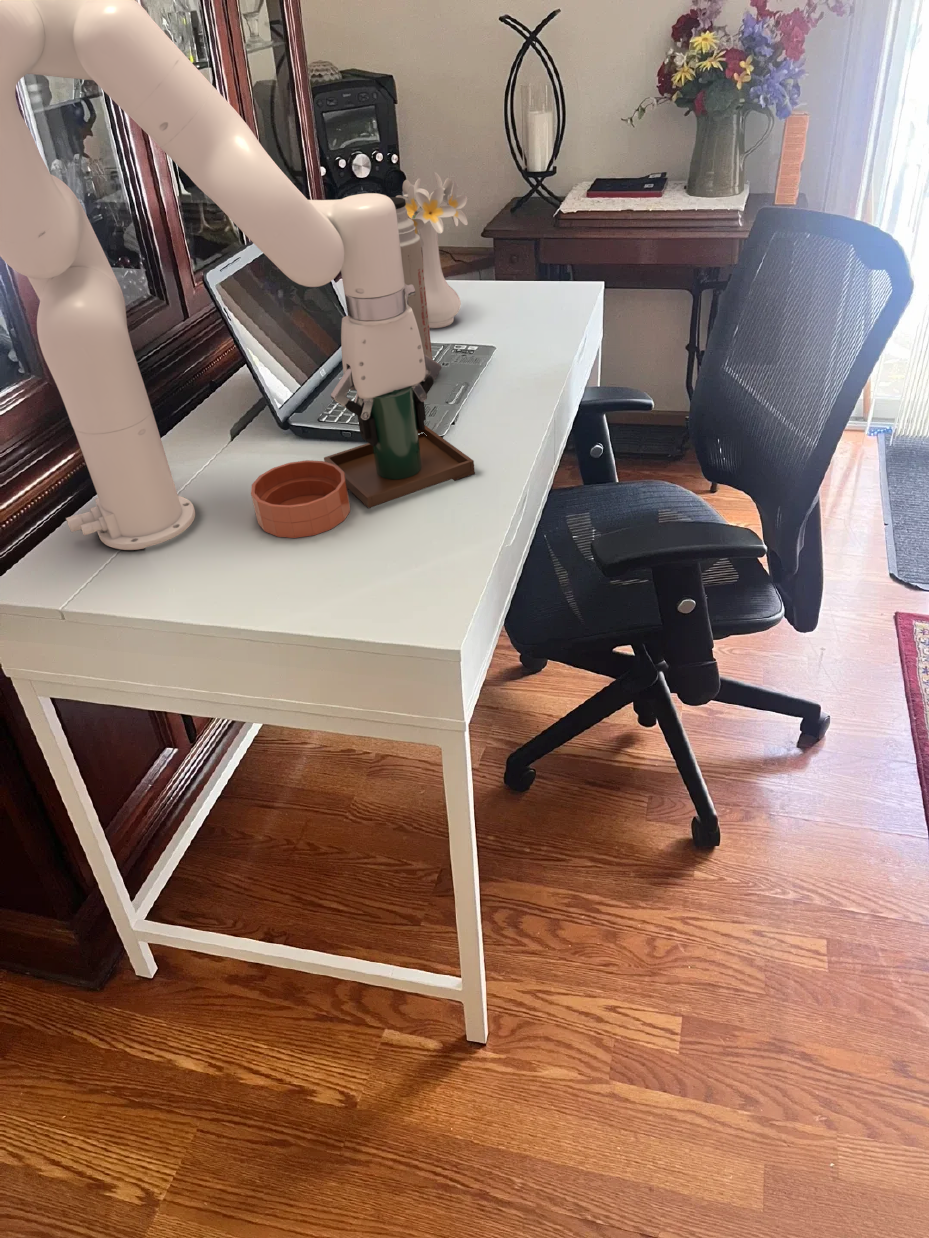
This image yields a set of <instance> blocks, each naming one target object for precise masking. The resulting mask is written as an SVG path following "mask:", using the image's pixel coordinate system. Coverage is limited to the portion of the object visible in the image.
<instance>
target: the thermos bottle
mask: <svg viewBox="0 0 929 1238" xmlns="http://www.w3.org/2000/svg"><path fill="white" fill-rule="evenodd" d="M388 197H389V196H388ZM389 198H390V199H391V200H392V201H393V203H394V205H395V208H396V214H397V223H398V231H399V240H400V249H401V257H402V266H403V274H404V283H405V284H406V285H410V284H412V285H413V286H414V288H415V295H412V296H410V297H409V298H408V306H409V307H411V308H412V311H413V314H414V317H415V320H416V323H417V326H418V330H419V334H420V338H421V342H422V348H423V353H424V354H425V355H426V356H428V357H429V358H431V359H432V360H433V352H432V351H433V350H432V342H431V331H430V328H429V320H428V311H427V301H426V291H425V281H424V271H423V254H422V247H421V242H420V236H419V235H417V234H415V226H414V222H413V221H412V220H411V219H409V218H408V216H407V209H406V208H405V205H406V201H405V199H404V198H405V197H404V198H400V197H396V196H395V197H394V196H390V197H389ZM425 368H426V366H425Z"/></svg>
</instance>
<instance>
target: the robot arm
mask: <svg viewBox="0 0 929 1238" xmlns="http://www.w3.org/2000/svg"><path fill="white" fill-rule="evenodd" d="M26 75H37V76H44V77H45V76H46V77H53V78H64V79H74V80H84V81H85V80H86V81H94V83H96V85H97V86H98V87H99V88H100V89H101V90H102V91H103V92H104V93H105V94H106V95H107V96H108V97H109V98H110V99H111V100H112V101H113V102H114V103H115V104H116V105H117V106H118V107H119V108H120V109H121V110H122V111H123V112H124V113H125V114H126V115H127V116H129V117H130V119H132V120H133V121H134V122H135V123H136V124H137V126H139V128H141V129H142V130H143V131H144V133H146V134H147V136H149V137H150V138H151V139H152V140H153V141H154V142H155V144H156V145H158V147H159V148H160V149H161V150H162V151H163V152H164V153H165V154H166V155H167V156H168V157H169V158H170V159H171V160H172V161H173V162H174V163H175V164H176V166H177V167H179V168H180V169H181V170H182V172H183V173H185V174H186V176H188V177H189V179H190V180H191V181H192V183H194V185H195V186H196V187H197V188H198V189H199V190H200V191H201V192H202V193H204V194H205V195H206V196H207V197H208V198H209V199H210V200H211V201H212V202H213V203H214V204H215V205H217V207H218V208H220V210H221V211H222V212H223V213H224V214H225V215H226V216H227V217H228V218H229V219H230V220H231V221H232V223H233V224H235V225H236V226H237V228H239V230H240V231H241V232H242V233H243V234H244V235H245V236H246V238H248V239H249V240H250V241H251V242H252V243H253V244H254V245H255V246H256V247H257V248H258V249H259V250H260V251H261V252H262V253H263V255H265V256H266V257H267V258H268V260H270V261H271V262H272V263H273V264H274V265H275V266H276V267H277V268H278V269H279V270H280V271H281V272H282V273H283V274H284V275H285V276H286V277H287V278H288V279H290V280H291V281H292V282H294V283H296V284H298V285H300V286H302V287H309V288H317V287H318V288H319V287H323V286H325V285H327V284H329V283H331V282H332V281H333V280H334V279H336V277H337V276H338V275H339V274H340V273H341V274H340V275H341V278H342V280H341V281H342V287H343V292H344V300H345V305H346V312H347V313H346V314H347V315H345V316H342V318H341V328H340V329H341V330H340V343H341V344H340V345H341V346H340V347H341V363H342V371H343V375H342V377H341V378H340V380H338V382H337V384H336V385H335V387H334V389H333V390H332V392H331V393H330V398H331V399H332V400H333V401H334V402H335V403H337V404H338V405H340V406H342V407H343V408H344V409H346V410H348V411H349V412H351V414H353V415H355V416H357V423H358V429H359V435H360V437H361V438H362V440H364V441H366V443H369V444H371V445H372V446H376V445H377V444H378V440H377V433H376V426H375V420H374V418H373V417H372V416H371V415H370V413H371V409H372V405H373V398H375V397H378V396H381V395H384V394H387V393H390V392H392V391H394V390H399V389H404V388H407V387H410V386H413V394H414V403H415V411H416V420H417V428H418V430H420V431H422V430H425V426H426V424H425V421H426V420H427V419H426V418H427V417H426V408H425V402H426V401H427V399H428V394H429V392H430V390H431V389H432V387H433V386H434V383H435V380H436V379H437V377H438V375H439V374H440V372H441V371H442V368H443V367H442V365H441V364H440V363H439V362H437V361H435V360H434V359H433V358H432V359H431V358H429V357H428V356H426V355H425V354H424V353H423V348H422V342H421V338H420V334H419V330H418V326H417V323H416V320H415V317H414V314H413V311H412V308H411V307H409V306H408V298H409V297H410V296H412V295H415V288H414V286H413V285H412V284H410V285H406V284H405V283H404V274H403V266H402V257H401V249H400V240H399V231H398V223H397V214H396V208H395V205H394V203H393V201H392V200H391V199H390V198H389V196H387V195H386V194H381V193H377V192H375V193H374V192H367V193H358V194H353V195H348V196H346V197H343V198H340V199H308V198H307V197H306V196H305V195H304V194H303V193H302V192H301V191H300V190H299V188H297V186H296V185H295V184H294V183H293V182H292V181H291V180H290V178H289V177H288V175H286V174H285V173H284V171H282V169H280V167H279V166H278V165H277V163H276V162H275V161H274V160H273V159H272V157H271V156H270V155H269V154H268V152H267V151H266V150H265V148H264V147H263V146H262V144H261V142H260V141H259V140H258V138H257V137H256V135H255V133H254V132H253V131H252V129H251V128H250V127H249V124H247V122H245V120H244V119H243V117H242V116H241V115H240V114H239V113H238V112H237V110H236V109H235V108H234V107H233V106H232V104H230V103H229V102H228V101H227V99H226V98H225V97H224V96H223V95H222V94H221V92H219V90H218V89H217V88H216V87H215V86H214V85H212V83H211V82H210V81H209V80H208V79H207V78H206V77H205V75H204V74H203V73H202V72H201V71H200V70H199V69H198V68H197V66H195V64H193V62H192V61H191V60H190V59H189V58H188V57H187V56H186V55H185V54H184V52H183V51H182V50H181V49H180V48H179V47H178V46H177V45H176V43H175V42H174V41H172V40H171V38H170V37H169V36H168V35H167V34H166V32H165V31H163V29H162V28H161V27H160V26H159V24H157V23H156V21H154V19H153V18H152V17H151V16H150V14H149V13H148V11H147V10H146V9H145V8H144V7H143V6H142V5H141V4H140V3H139V2H138V1H136V0H0V258H1V259H2V261H4V262H5V264H6V265H7V266H9V267H10V268H11V269H12V270H14V271H15V272H17V273H18V274H19V275H22V276H25V277H27V279H28V281H29V283H30V285H31V287H32V288H33V290H34V292H35V294H36V296H37V298H38V300H39V305H38V309H37V315H36V332H37V339H38V344H39V347H40V350H41V353H42V356H43V359H44V361H45V363H46V365H47V368H48V369H49V372H50V374H51V376H52V378H53V381H54V383H55V385H56V387H57V390H58V392H59V395H60V397H61V400H62V402H63V405H64V407H65V411H66V413H67V416H68V418H69V421H70V425H71V427H72V428H73V431H74V434H75V436H76V439H77V442H78V445H79V447H80V450H81V453H82V457H83V459H84V462H85V464H86V467H87V470H88V472H89V476H90V478H91V481H92V483H93V486H94V489H95V492H96V495H97V497H96V498H94V502H95V504H96V505H95V506H93V507H89V511H87V512H83V513H78V514H75V515H71V516H68V517H65V521H66V523H67V525H68V528H69V530H70V532H71V533H73V532H77V531H80V530H81V532H82V534H83V536H89V535H91V534H94V533H96V532H97V534H98V535H97V536H99V537H98V538H99V539H100V541H101V542H102V543H103V544H104V545H105V546H107V547H110V548H113V549H116V550H122V551H123V550H124V551H134V550H135V551H136V550H144V549H146V548H148V547H152V546H156V545H160V544H162V543H164V542H167V541H170V540H171V539H174V538H176V537H178V536H179V535H181V534H183V533H184V532H185V531H186V530H187V529H188V528H189V527H191V525H192V524H193V522H194V520H195V518H196V510H195V507H194V504H193V503H192V501H190V500H189V499H187V498H186V497H183V496H181V495H179V494H178V492H177V488H176V485H175V481H174V478H173V475H172V471H171V469H170V465H169V461H168V457H167V455H166V452H165V448H164V445H163V442H162V439H161V435H160V432H159V429H158V424H157V421H156V418H155V415H154V412H153V408H152V405H151V402H150V399H149V396H148V393H147V389H146V386H145V383H144V379H143V377H142V374H141V370H140V368H139V364H138V362H137V359H136V356H135V352H134V349H133V346H132V343H131V337H130V333H129V329H128V321H127V320H128V319H127V308H126V307H127V306H126V302H125V297H124V294H123V290H122V288H121V285H120V283H119V281H118V279H117V277H116V275H115V272H114V270H113V268H112V266H111V264H110V262H109V259H108V258H107V255H106V253H105V251H104V249H103V247H102V245H101V243H100V241H99V239H98V237H97V234H96V232H95V231H94V228H93V226H92V224H91V222H90V220H89V218H88V216H87V213H86V211H85V209H84V207H83V206H82V204H81V202H80V200H79V198H78V197H77V196H76V194H75V192H74V191H73V190H72V189H71V188H70V187H69V185H67V184H66V183H65V182H64V181H63V180H61V179H60V178H59V177H58V176H55V175H53V174H51V173H50V170H49V169H48V167H47V165H46V162H45V161H44V159H43V157H42V154H41V153H40V150H39V147H38V146H37V143H36V141H35V139H34V136H33V134H32V132H31V129H30V128H29V126H28V125H27V123H26V121H25V119H24V118H23V116H22V114H21V112H20V109H19V106H18V103H17V99H16V98H17V97H16V88H17V85H18V83H19V82H20V81H21V79H22V78H24V77H25V76H26ZM425 366H426V368H425ZM350 391H356V393H355V397H354V401H353V400H352V399H350V398H349V397H348V393H349V392H350Z"/></svg>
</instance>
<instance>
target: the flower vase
mask: <svg viewBox="0 0 929 1238" xmlns="http://www.w3.org/2000/svg"><path fill="white" fill-rule="evenodd" d="M433 173H434V178H435V181H436V185H437V187H435V188H434V190H433V191H432V192H431V193H429V191H428V190H427V189H425V188H421V183H422V179H421V178H420V177H419V178H417V180H416V181H415V183H414V184H411V182H410V181H409V179H405V180H404V181H403V183H402V192H403V195H400V194H398V195H396V196H395V197H400V198H404V199H405V201H406V205H405V208H406V209H407V216H408V218H409V219H411V220H412V221H413V222H414V226H415V234H417V235H419V236H420V242H421V252H422V261H423V271H424V281H425V291H426V301H427V311H428V320H429V329H440V328H446V327H448V326H450V325H452V324H453V323H454V320H455V318H454V317H455V316H456V315H457V314H458V313H459V312H460V310H461V306H462V303H461V298H460V296H459V295H458V293H457V291H456V290H455V289H454V288H453V287H451V286H450V285H449V284H448V282H447V280H446V278H445V276H444V273H443V269H442V263H441V256H440V247H439V234H443V232H444V228H445V227H444V226H445V225H444V222H443V220H442V218H443V219H445V218H451V219H452V221H453V224H454V226H455V227H456V228H458V227H459V221H460V222H461V223H462V224H463V226H468V225H469V222H468V218H467V216H466V213H464V212H463V210H462V209H463V208H464V207H465V206H466V205H467V202H468V197H467V195H466V194H465V193H462V194H460V195H458V183H457V181H456V180H454V181H452V179H451V178H449V177H447V178H445V180H444V182H443V181H442V178H441V176H440V175H439V174H438V173H437V172H436V171H434V172H433ZM443 202H444V203H446V204H442V203H443ZM420 209H421V210H420Z"/></svg>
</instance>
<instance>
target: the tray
mask: <svg viewBox="0 0 929 1238" xmlns="http://www.w3.org/2000/svg"><path fill="white" fill-rule="evenodd" d="M421 432H424V433H425V434H426V435H427V436H426V435H425V434H424V433H423V434H420V435H418V437H419V445H420V454H421V462H422V468H421V470H420V471H419V472H418V473H417V474H416V475H414V476H412V477H409V478H405V479H399V480H391V479H385V478H382V477H380V476H379V475H378V474H377V472H376V467H375V460H374V453H373V447H372V445H371V444H369V443H368V442H366V443H364V444H361V445H358V446H355V447H352V448H349V449H346V450H343V451H339V452H337V453H333V454H330V455H327V456H324V457H323V461H325V462H328V463H331V464H334V465H337V466H338V467H339V468H340V469H341V470H342V471H343V472H344V473H345V479H346V484H347V490H348V491H350V492H351V493H352V494H353V495H354V496H355V497H356V498H357V499H358V500H359V501H360V502H361V503H362V504H363V505H364V506H366V507H367V508H368V509H370V508H373V507H376V506H379V505H382V504H384V503H387V502H390V501H393V500H396V499H400V498H401V497H404V496H407V495H410V494H413V493H415V492H418V491H421V490H425V489H427V488H430V487H433V486H435V485H438V484H441V483H443V482H444V483H445V482H447V481H449V480H453V481H457V480H461V479H463V478H467V477H469V476H472V475H474V474H475V473H476V472H475V461H474V460H473V459H472V458H471V457H469V456H468V454H467V455H466V454H465V453H464V452H463V451H461V450H460V449H459V448H457V447H456V446H455V445H453V444H452V443H450V442H448V441H447V440H446V439H445V438H443V437H442V436H440V435H439V434H438V433H436V432H435V431H434V430H432V429H431V428H430V427H428V426H427V425H425V430H422V431H420V430H418V433H421Z"/></svg>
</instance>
